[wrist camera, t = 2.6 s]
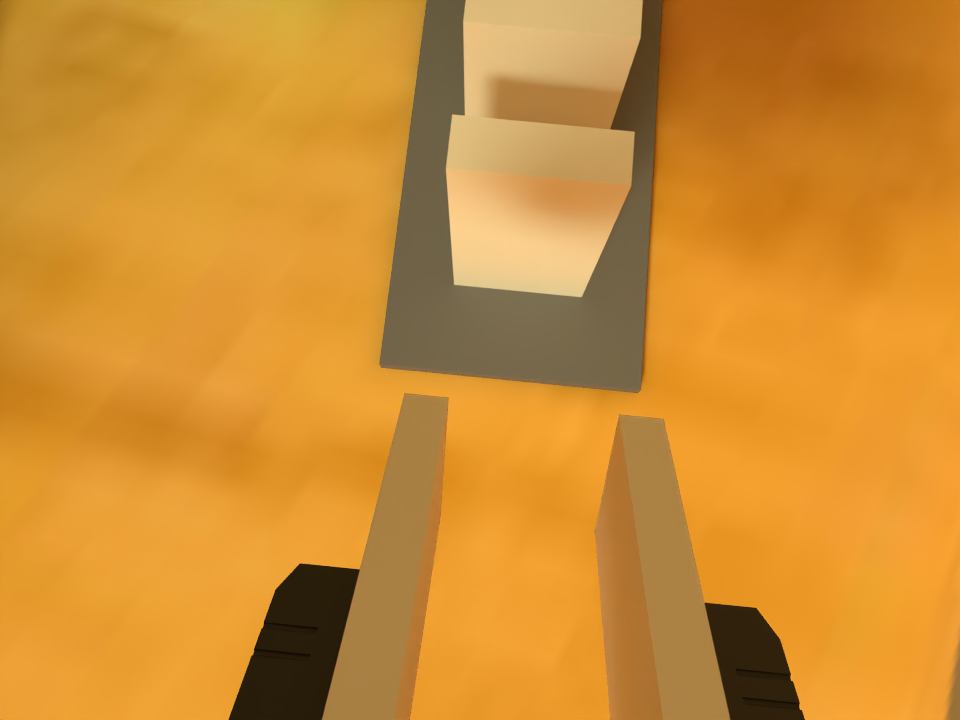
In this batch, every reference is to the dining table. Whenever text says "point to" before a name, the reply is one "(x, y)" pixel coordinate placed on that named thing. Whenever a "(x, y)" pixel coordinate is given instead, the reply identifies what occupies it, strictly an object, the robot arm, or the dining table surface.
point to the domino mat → (506, 313)
